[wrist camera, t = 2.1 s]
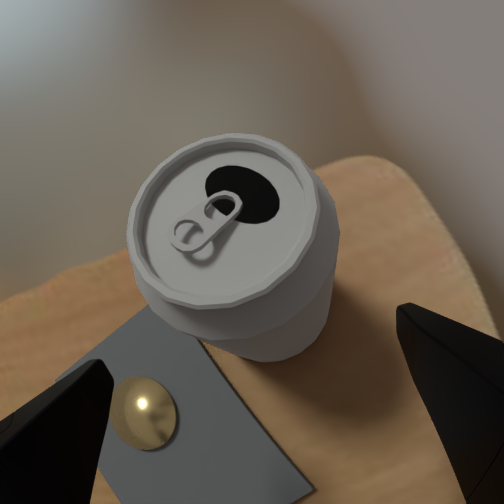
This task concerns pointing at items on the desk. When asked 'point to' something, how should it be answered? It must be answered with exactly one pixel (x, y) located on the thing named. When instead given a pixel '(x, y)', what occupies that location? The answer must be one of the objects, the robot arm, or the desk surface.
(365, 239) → the desk surface
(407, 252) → the desk surface
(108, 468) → the mat
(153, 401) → the gold metal dome
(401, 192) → the desk surface
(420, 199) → the desk surface
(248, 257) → the can
